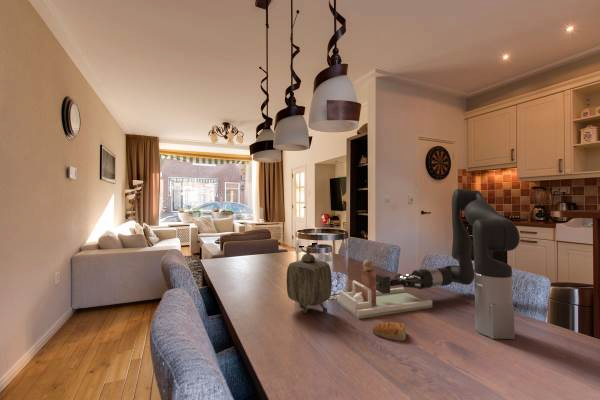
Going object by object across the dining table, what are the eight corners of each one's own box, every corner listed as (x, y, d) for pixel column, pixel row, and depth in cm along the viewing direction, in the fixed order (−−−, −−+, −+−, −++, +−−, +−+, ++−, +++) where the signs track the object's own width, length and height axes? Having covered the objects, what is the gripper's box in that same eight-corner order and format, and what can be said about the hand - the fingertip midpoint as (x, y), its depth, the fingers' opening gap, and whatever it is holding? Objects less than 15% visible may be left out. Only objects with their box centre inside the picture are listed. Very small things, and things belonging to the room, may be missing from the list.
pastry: (371, 338, 83) (371, 325, 83) (373, 328, 89) (373, 316, 89) (406, 343, 80) (406, 329, 80) (405, 332, 86) (405, 319, 86)
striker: (382, 298, 111) (382, 257, 111) (390, 302, 106) (389, 259, 106) (360, 301, 108) (360, 258, 108) (367, 306, 104) (367, 261, 104)
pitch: (402, 293, 121) (402, 287, 121) (432, 307, 105) (432, 300, 105) (337, 301, 112) (337, 295, 112) (358, 318, 96) (358, 311, 96)
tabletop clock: (332, 312, 102) (331, 241, 102) (317, 320, 95) (316, 244, 95) (300, 303, 111) (299, 238, 111) (284, 310, 104) (283, 241, 104)
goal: (355, 299, 112) (354, 279, 112) (372, 310, 100) (372, 289, 100) (339, 301, 110) (339, 281, 110) (355, 313, 98) (354, 291, 98)
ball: (361, 308, 103) (367, 298, 104) (351, 302, 103) (357, 292, 104) (358, 306, 107) (364, 297, 107) (349, 300, 107) (355, 291, 108)
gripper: (415, 265, 121) (379, 269, 115) (439, 272, 108) (400, 277, 103) (415, 283, 121) (379, 287, 115) (439, 293, 108) (400, 298, 103)
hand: (389, 282), depth 109 cm, fingers closed
